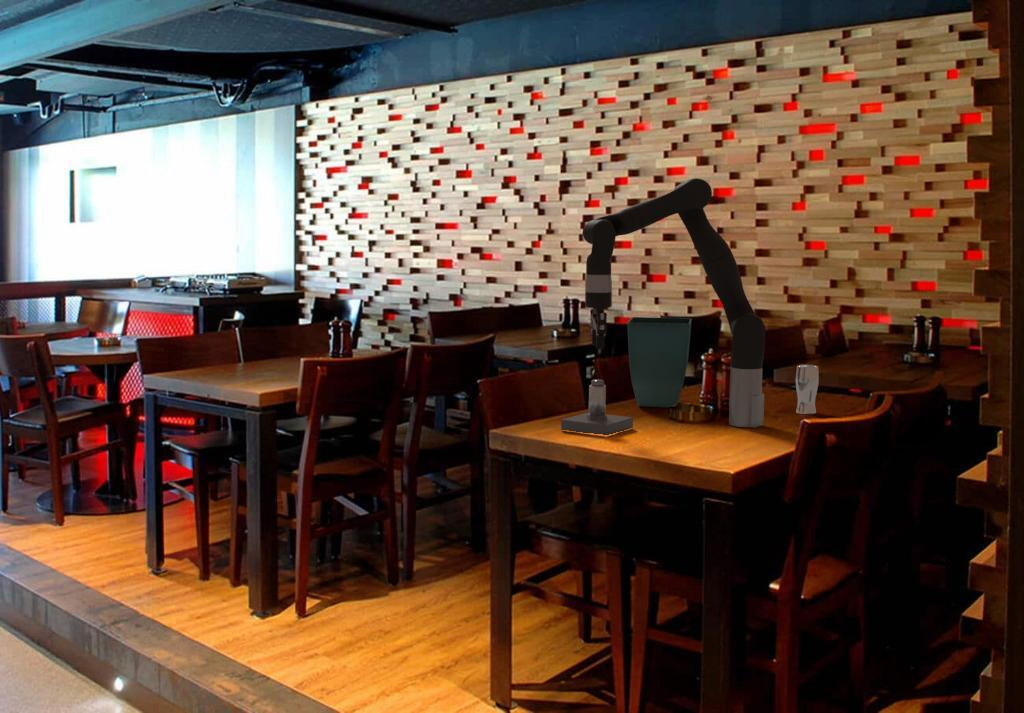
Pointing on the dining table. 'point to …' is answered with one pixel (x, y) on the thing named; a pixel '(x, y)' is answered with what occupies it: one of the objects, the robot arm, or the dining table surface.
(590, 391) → the salt shaker
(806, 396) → the beer glass
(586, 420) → the slate block
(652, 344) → the flower pot
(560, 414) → the dining table surface
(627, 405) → the dining table surface
